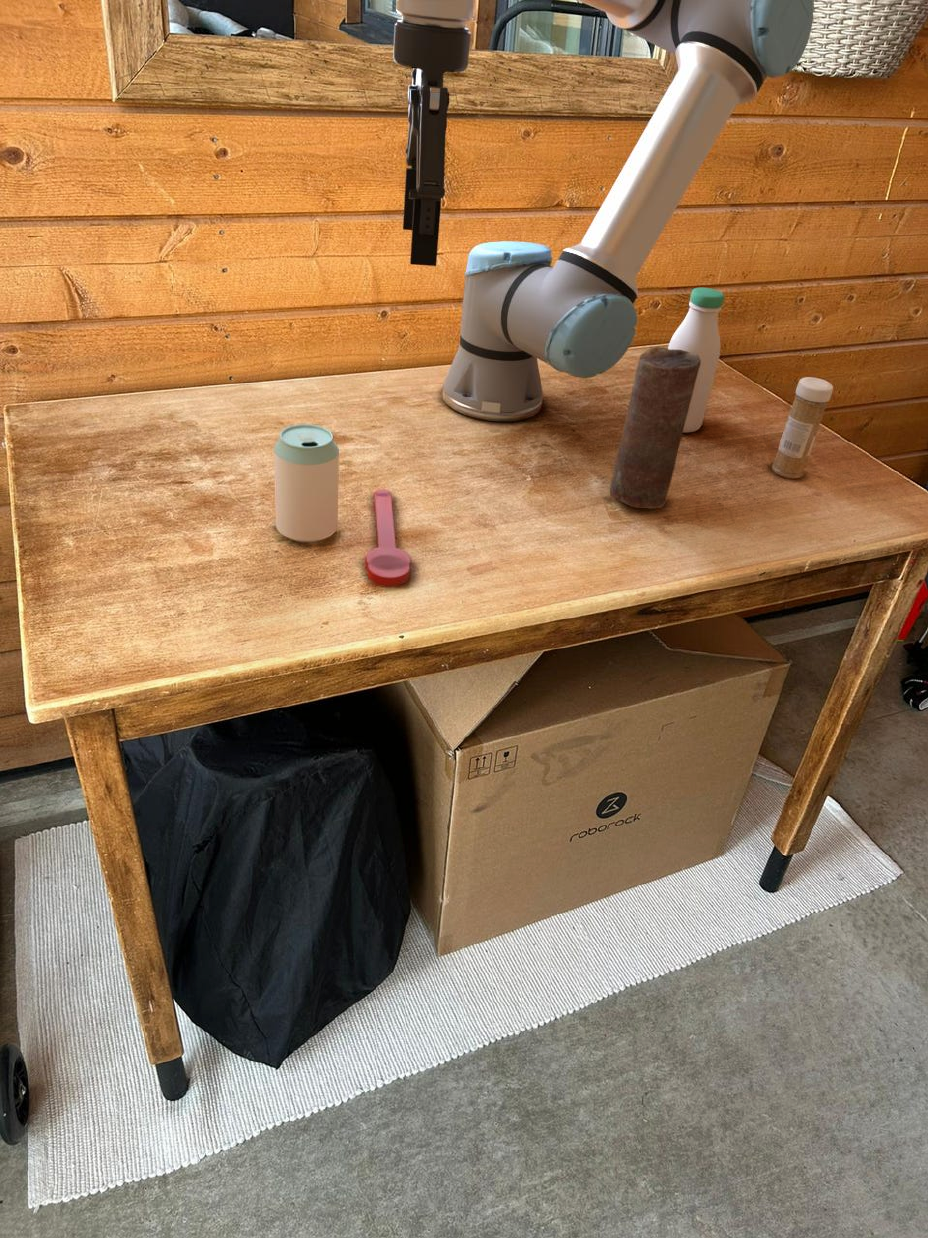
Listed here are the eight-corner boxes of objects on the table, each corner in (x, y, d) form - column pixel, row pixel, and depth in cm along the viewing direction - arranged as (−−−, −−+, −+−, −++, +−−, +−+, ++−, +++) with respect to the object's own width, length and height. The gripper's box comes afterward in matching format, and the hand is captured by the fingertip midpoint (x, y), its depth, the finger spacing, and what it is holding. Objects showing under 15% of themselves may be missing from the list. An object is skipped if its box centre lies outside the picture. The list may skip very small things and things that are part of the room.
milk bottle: (703, 419, 145) (738, 289, 133) (697, 438, 139) (733, 304, 127) (655, 408, 147) (685, 279, 135) (646, 426, 141) (677, 293, 129)
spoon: (361, 495, 116) (362, 486, 115) (402, 496, 116) (402, 487, 116) (366, 586, 100) (366, 577, 99) (412, 587, 101) (413, 578, 100)
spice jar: (809, 476, 132) (841, 386, 124) (788, 482, 130) (819, 391, 122) (784, 462, 135) (814, 373, 127) (763, 468, 133) (792, 378, 125)
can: (349, 528, 109) (352, 434, 102) (310, 553, 104) (310, 456, 97) (303, 508, 112) (302, 415, 105) (263, 531, 107) (259, 435, 100)
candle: (650, 523, 117) (688, 370, 105) (598, 503, 120) (629, 353, 108) (672, 500, 123) (711, 353, 111) (622, 482, 125) (654, 336, 113)
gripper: (389, 6, 101) (380, 214, 113) (402, 29, 81) (390, 278, 93) (458, 14, 102) (441, 219, 114) (487, 38, 82) (464, 283, 94)
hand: (418, 246), depth 104 cm, fingers open, 13 cm apart
